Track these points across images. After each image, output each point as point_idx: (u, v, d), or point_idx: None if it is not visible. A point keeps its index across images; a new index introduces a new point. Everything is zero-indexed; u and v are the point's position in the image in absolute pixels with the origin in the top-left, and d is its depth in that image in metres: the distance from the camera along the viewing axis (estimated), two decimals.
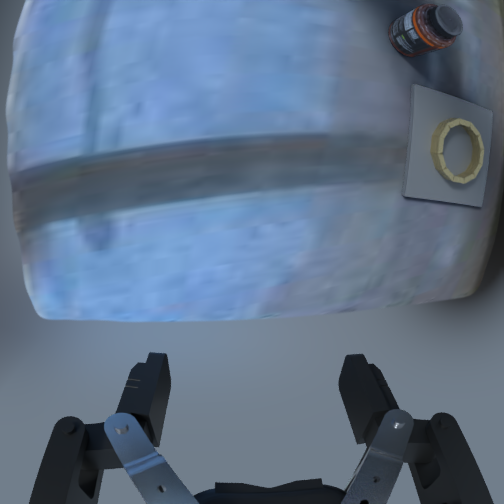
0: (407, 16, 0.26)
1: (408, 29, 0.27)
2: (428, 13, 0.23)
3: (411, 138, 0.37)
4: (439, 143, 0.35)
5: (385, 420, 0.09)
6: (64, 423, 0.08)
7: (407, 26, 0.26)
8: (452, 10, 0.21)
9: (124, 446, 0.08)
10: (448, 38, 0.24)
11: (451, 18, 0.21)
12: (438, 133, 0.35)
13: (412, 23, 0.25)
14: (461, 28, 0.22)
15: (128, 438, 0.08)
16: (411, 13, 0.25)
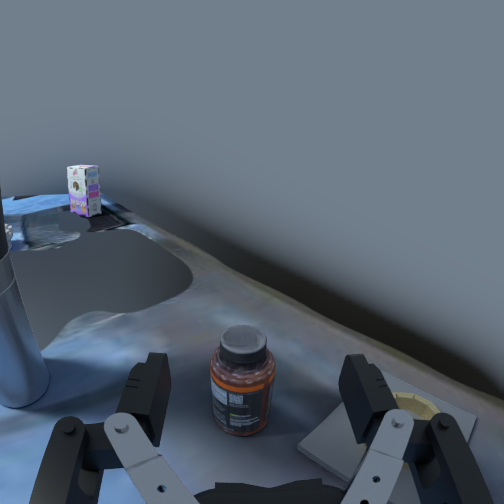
0: (213, 388, 0.27)
1: (227, 401, 0.26)
2: (222, 358, 0.26)
3: None
4: None
5: (385, 420, 0.09)
6: (64, 423, 0.08)
7: (223, 397, 0.26)
8: (236, 327, 0.28)
9: (124, 446, 0.08)
10: (264, 359, 0.26)
11: (243, 335, 0.26)
12: None
13: (222, 388, 0.26)
14: (261, 332, 0.27)
15: (128, 438, 0.08)
16: (212, 380, 0.27)
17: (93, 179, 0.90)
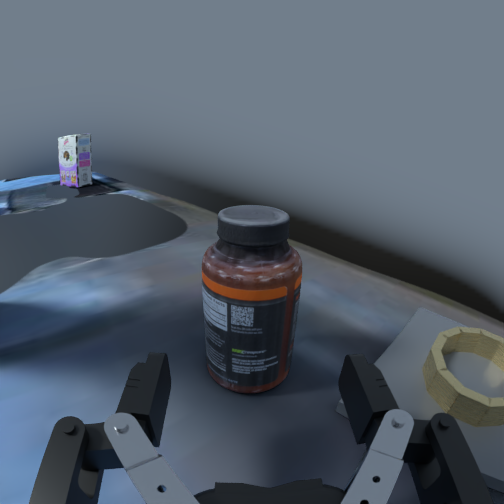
0: (205, 307, 0.18)
1: (227, 322, 0.17)
2: (221, 246, 0.17)
3: None
4: (471, 398, 0.14)
5: (385, 420, 0.09)
6: (64, 424, 0.08)
7: (221, 316, 0.17)
8: (242, 206, 0.19)
9: (124, 446, 0.08)
10: (287, 248, 0.17)
11: (253, 211, 0.18)
12: (450, 396, 0.15)
13: (219, 297, 0.17)
14: (280, 210, 0.18)
15: (128, 438, 0.08)
16: (204, 291, 0.18)
17: (85, 147, 0.82)
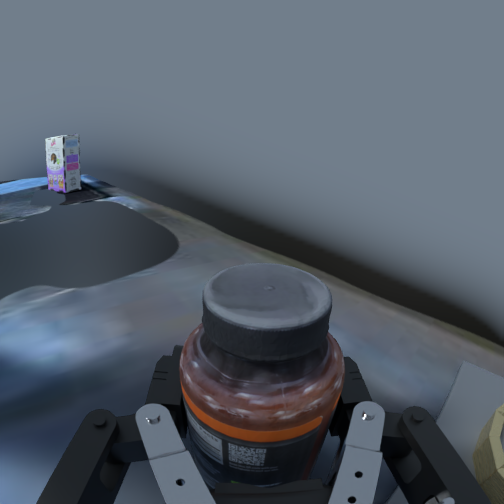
0: (189, 424, 0.10)
1: (224, 457, 0.09)
2: (209, 349, 0.09)
3: None
4: None
5: (355, 411, 0.10)
6: (96, 416, 0.08)
7: (213, 449, 0.09)
8: (246, 267, 0.11)
9: (158, 436, 0.08)
10: (324, 348, 0.10)
11: (266, 283, 0.10)
12: None
13: (209, 428, 0.09)
14: (313, 278, 0.10)
15: (158, 430, 0.09)
16: (185, 405, 0.10)
17: (73, 149, 0.74)
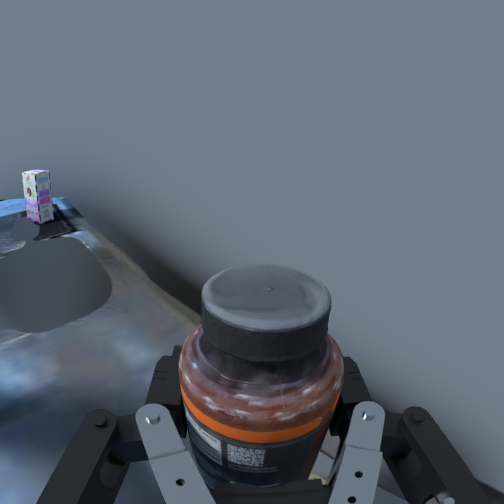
0: (188, 425, 0.10)
1: (222, 458, 0.09)
2: (208, 350, 0.09)
3: None
4: None
5: (355, 411, 0.10)
6: (96, 416, 0.08)
7: (212, 450, 0.09)
8: (245, 268, 0.11)
9: (158, 436, 0.08)
10: (323, 349, 0.10)
11: (265, 284, 0.10)
12: None
13: (208, 429, 0.09)
14: (313, 279, 0.10)
15: (158, 430, 0.09)
16: (184, 406, 0.10)
17: (44, 185, 0.81)
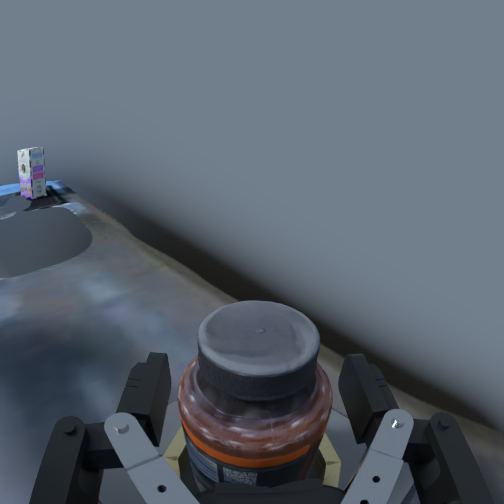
0: (187, 446, 0.11)
1: (219, 478, 0.10)
2: (204, 385, 0.10)
3: None
4: None
5: (385, 420, 0.09)
6: (64, 423, 0.08)
7: (209, 470, 0.10)
8: (239, 306, 0.11)
9: (124, 446, 0.08)
10: (312, 384, 0.10)
11: (258, 325, 0.10)
12: None
13: (205, 454, 0.09)
14: (304, 318, 0.11)
15: (129, 438, 0.08)
16: (183, 430, 0.11)
17: (38, 160, 0.78)
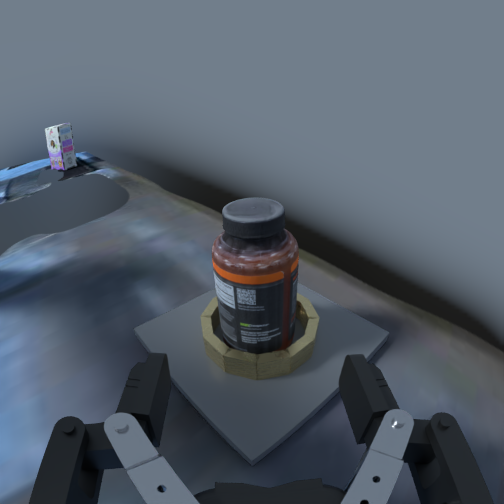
0: (217, 288, 0.22)
1: (235, 302, 0.20)
2: (226, 238, 0.20)
3: (178, 384, 0.21)
4: (210, 343, 0.22)
5: (385, 420, 0.09)
6: (64, 423, 0.08)
7: (229, 297, 0.21)
8: (244, 200, 0.21)
9: (124, 446, 0.08)
10: (283, 237, 0.20)
11: (252, 206, 0.20)
12: None
13: (227, 281, 0.20)
14: (277, 203, 0.21)
15: (128, 439, 0.08)
16: (215, 275, 0.21)
17: (67, 135, 0.89)
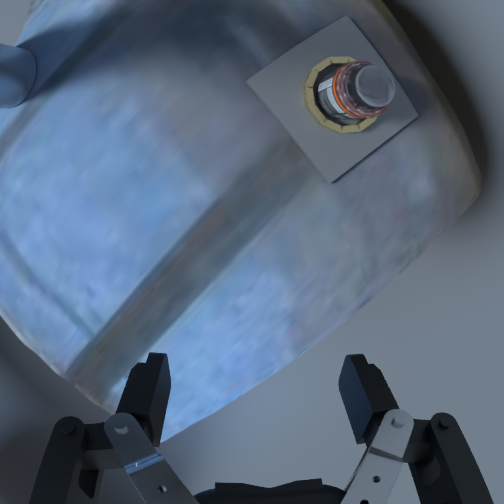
0: (330, 97, 0.28)
1: (341, 113, 0.29)
2: (351, 93, 0.25)
3: (288, 131, 0.35)
4: (313, 113, 0.32)
5: (385, 420, 0.09)
6: (64, 423, 0.08)
7: (339, 110, 0.28)
8: (370, 68, 0.22)
9: (124, 446, 0.08)
10: None
11: (376, 82, 0.23)
12: (306, 103, 0.32)
13: (342, 109, 0.27)
14: (392, 81, 0.23)
15: (128, 439, 0.08)
16: (332, 95, 0.27)
17: None
